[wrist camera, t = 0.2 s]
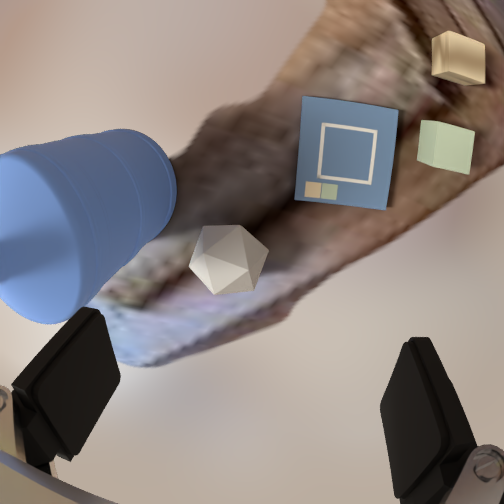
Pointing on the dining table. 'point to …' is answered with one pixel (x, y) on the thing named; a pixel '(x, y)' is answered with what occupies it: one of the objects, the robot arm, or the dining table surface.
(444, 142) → the green block
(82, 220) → the water jug
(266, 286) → the dining table surface
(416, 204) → the dining table surface
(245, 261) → the die
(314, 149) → the board
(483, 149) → the dining table surface
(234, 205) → the dining table surface
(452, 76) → the pine block
